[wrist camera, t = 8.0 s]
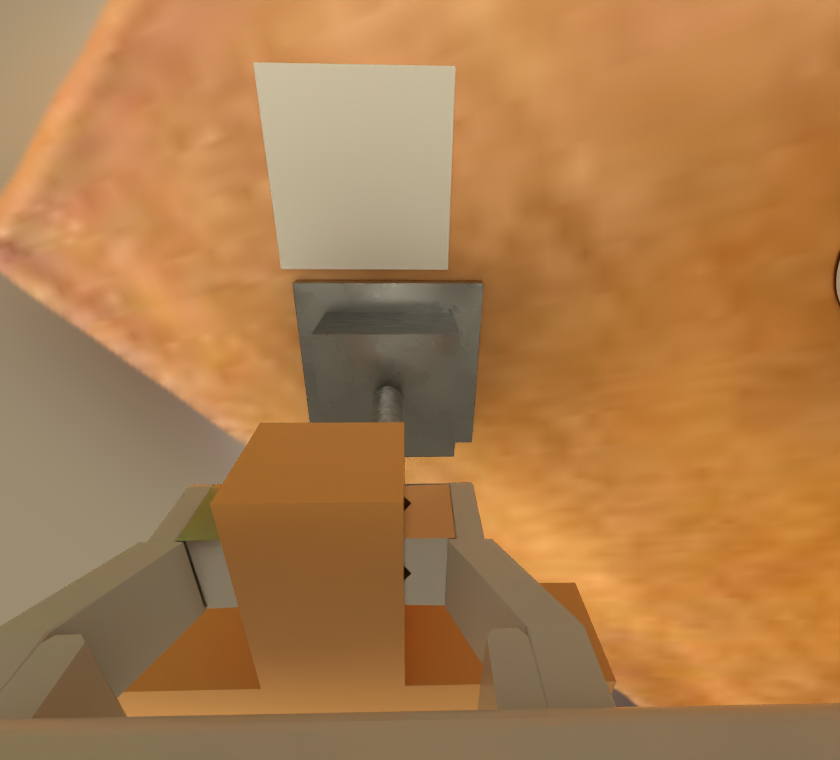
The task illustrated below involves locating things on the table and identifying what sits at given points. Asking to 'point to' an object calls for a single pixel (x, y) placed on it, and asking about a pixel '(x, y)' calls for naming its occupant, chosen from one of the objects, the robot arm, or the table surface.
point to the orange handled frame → (320, 592)
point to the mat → (359, 163)
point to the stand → (393, 356)
